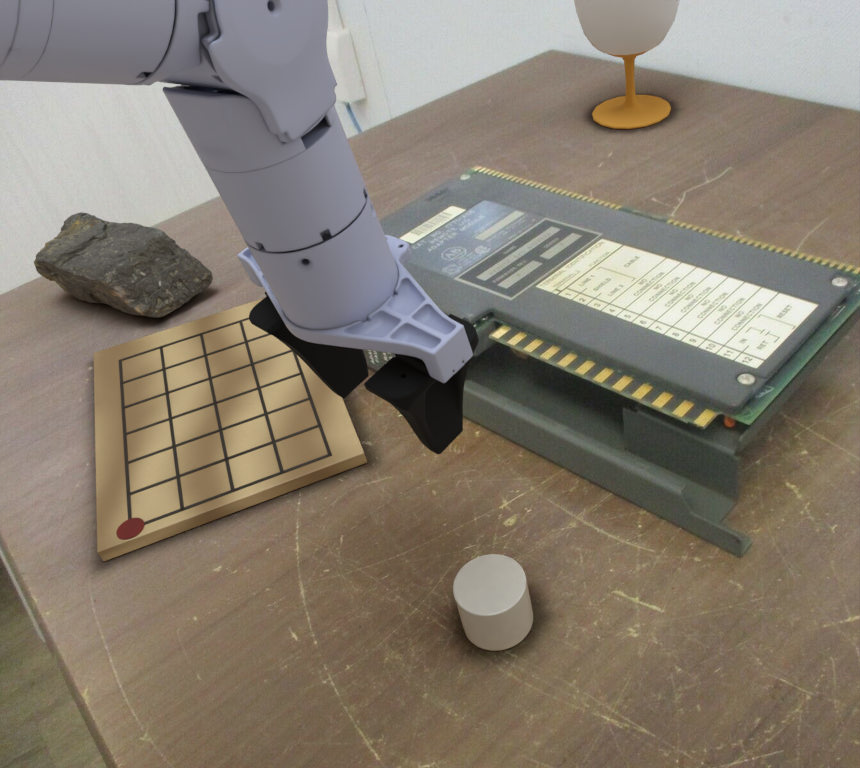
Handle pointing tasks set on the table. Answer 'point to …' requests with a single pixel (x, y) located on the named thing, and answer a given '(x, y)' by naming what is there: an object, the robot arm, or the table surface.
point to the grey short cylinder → (493, 602)
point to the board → (207, 428)
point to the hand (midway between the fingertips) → (397, 411)
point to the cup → (627, 52)
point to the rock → (122, 266)
